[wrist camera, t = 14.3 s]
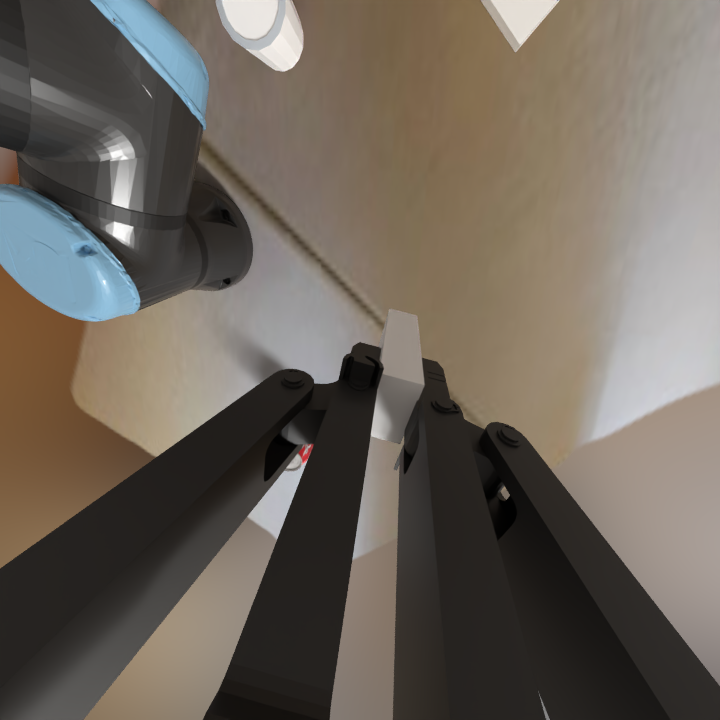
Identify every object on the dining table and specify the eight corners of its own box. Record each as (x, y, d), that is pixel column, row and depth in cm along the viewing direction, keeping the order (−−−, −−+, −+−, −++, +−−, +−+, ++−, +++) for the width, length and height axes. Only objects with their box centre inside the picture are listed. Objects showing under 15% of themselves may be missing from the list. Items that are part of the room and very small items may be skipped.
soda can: (292, 397, 56) (267, 440, 46) (326, 406, 56) (308, 451, 46) (289, 422, 60) (264, 467, 50) (320, 431, 60) (302, 478, 50)
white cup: (312, 74, 33) (291, 44, 27) (258, 82, 34) (225, 54, 28) (304, -14, 29) (277, -72, 23) (243, -3, 30) (203, -55, 24)
